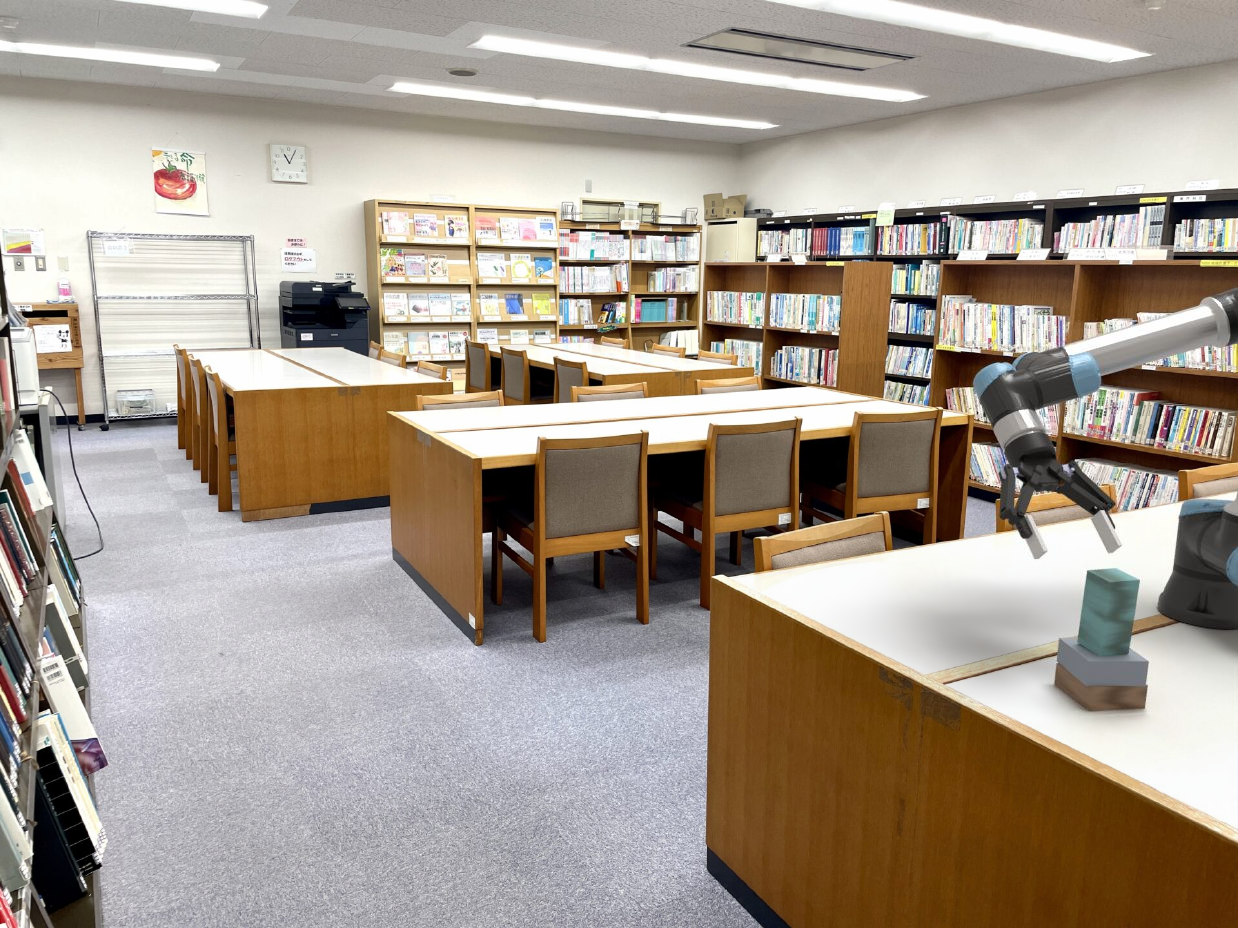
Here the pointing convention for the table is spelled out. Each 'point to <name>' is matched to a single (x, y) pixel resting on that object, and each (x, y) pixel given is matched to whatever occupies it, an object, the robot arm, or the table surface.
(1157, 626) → the table surface
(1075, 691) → the tower bottom
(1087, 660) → the tower top
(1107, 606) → the tall block
